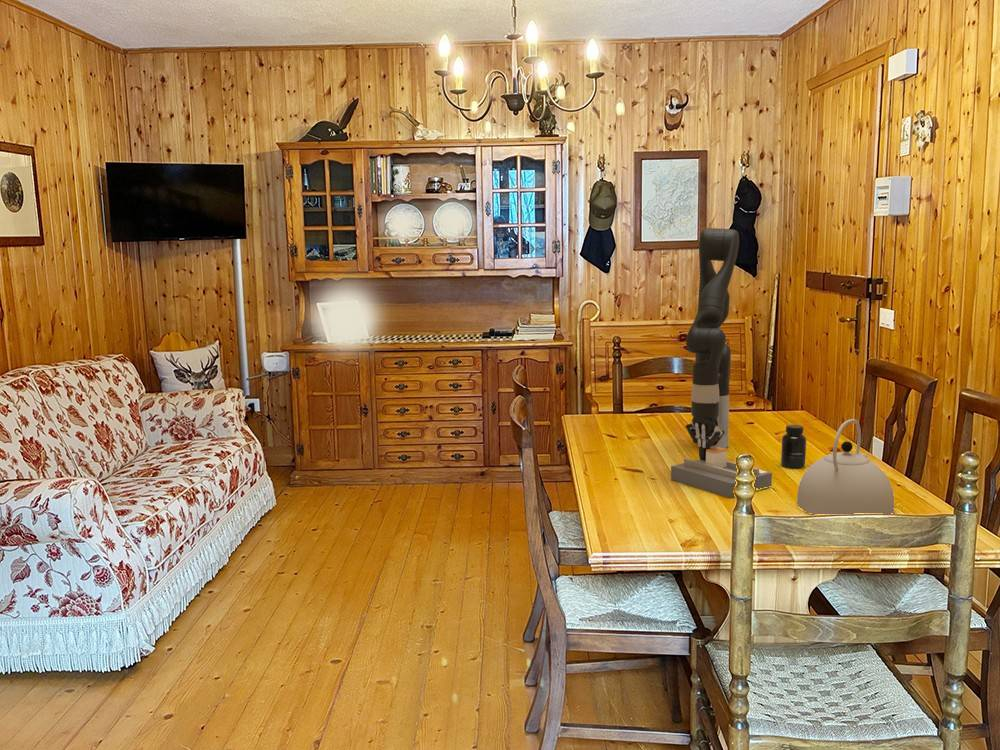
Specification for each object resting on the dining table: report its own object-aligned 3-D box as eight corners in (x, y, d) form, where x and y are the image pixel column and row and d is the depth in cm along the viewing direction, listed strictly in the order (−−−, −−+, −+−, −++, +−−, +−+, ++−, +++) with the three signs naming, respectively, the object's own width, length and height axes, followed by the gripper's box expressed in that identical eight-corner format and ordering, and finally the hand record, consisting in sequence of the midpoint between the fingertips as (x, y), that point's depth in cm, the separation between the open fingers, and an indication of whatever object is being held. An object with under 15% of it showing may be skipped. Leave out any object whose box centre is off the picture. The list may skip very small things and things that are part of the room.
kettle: (819, 487, 234) (822, 406, 231) (908, 502, 220) (913, 415, 216) (782, 511, 216) (784, 423, 212) (876, 529, 201) (881, 435, 197)
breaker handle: (705, 467, 240) (706, 449, 240) (718, 464, 243) (718, 446, 242) (713, 470, 238) (714, 451, 237) (726, 467, 241) (726, 448, 240)
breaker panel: (671, 479, 245) (671, 460, 244) (710, 469, 253) (710, 451, 252) (731, 498, 227) (731, 477, 226) (771, 487, 235) (772, 467, 234)
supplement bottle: (795, 470, 251) (796, 429, 249) (776, 465, 256) (777, 425, 254) (810, 466, 254) (811, 426, 252) (791, 461, 260) (792, 422, 258)
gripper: (678, 397, 244) (677, 457, 247) (713, 404, 233) (712, 466, 236) (697, 394, 248) (696, 453, 251) (732, 401, 237) (731, 462, 240)
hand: (704, 459), depth 244 cm, fingers closed
